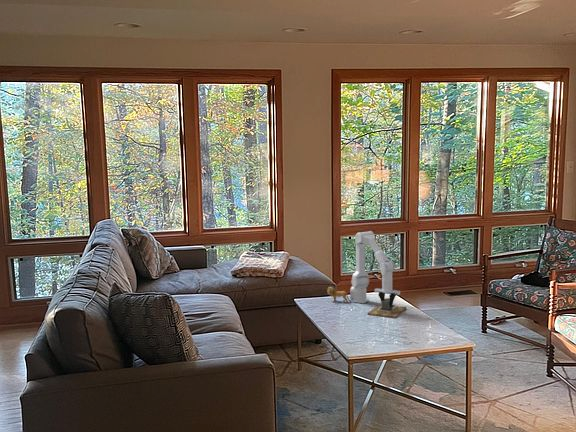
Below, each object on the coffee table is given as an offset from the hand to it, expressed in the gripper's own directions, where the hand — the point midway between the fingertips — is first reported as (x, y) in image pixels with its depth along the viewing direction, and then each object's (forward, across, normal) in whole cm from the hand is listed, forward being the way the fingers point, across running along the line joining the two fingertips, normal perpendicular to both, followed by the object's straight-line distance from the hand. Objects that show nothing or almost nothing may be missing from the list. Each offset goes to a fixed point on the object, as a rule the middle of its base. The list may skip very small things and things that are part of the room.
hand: (387, 305), depth 325 cm
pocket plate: (+3, 0, 0) cm, 3 cm away
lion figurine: (+4, -34, +8) cm, 35 cm away
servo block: (+2, 0, 0) cm, 2 cm away
